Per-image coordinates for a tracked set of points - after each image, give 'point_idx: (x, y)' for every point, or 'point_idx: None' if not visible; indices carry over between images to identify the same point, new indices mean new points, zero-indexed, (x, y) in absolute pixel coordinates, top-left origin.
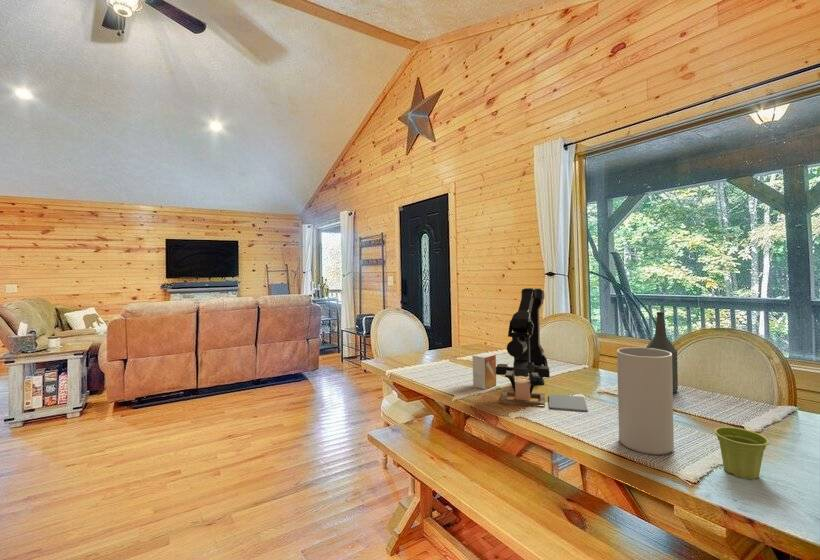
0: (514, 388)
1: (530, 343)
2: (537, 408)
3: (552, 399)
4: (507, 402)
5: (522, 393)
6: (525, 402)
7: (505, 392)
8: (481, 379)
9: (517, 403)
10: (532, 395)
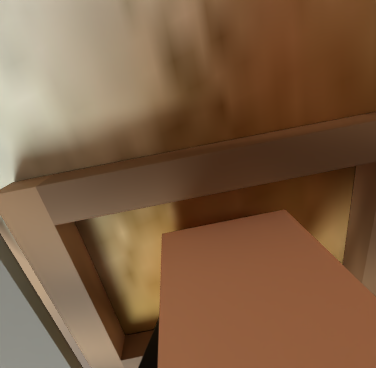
0: None
1: None
2: (54, 112)
3: (18, 329)
4: (350, 120)
5: (244, 263)
6: (184, 156)
7: None
8: None
9: (257, 137)
10: None
